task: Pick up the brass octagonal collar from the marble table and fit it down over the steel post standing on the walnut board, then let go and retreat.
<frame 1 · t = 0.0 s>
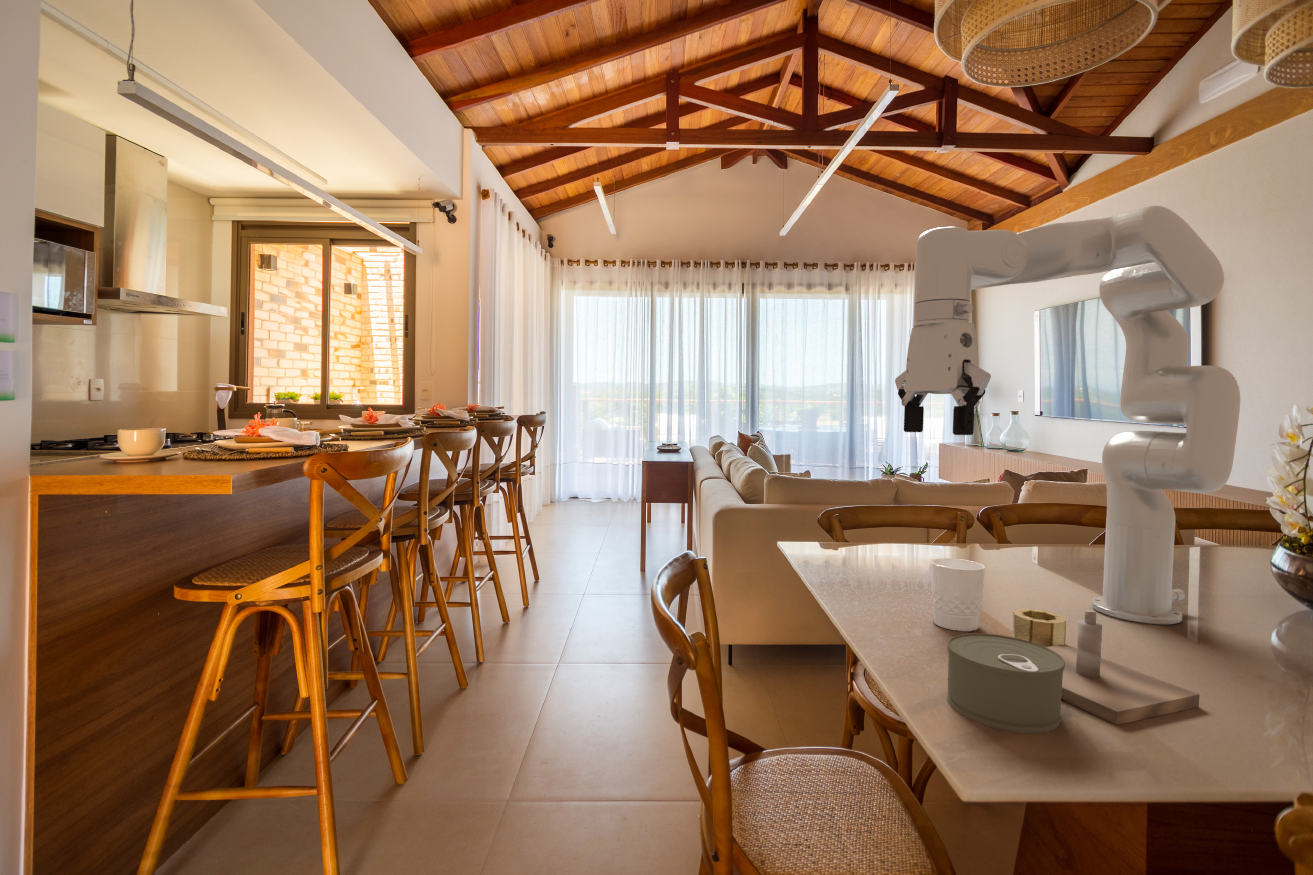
hand: (937, 433, 95), 31 cm above the table, tool pointing down, fingers open, 9 cm apart
ring: (1038, 641, 97), on the table
post block: (1087, 685, 82), on the table
can: (1001, 710, 75), on the table
white cup: (955, 625, 105), on the table
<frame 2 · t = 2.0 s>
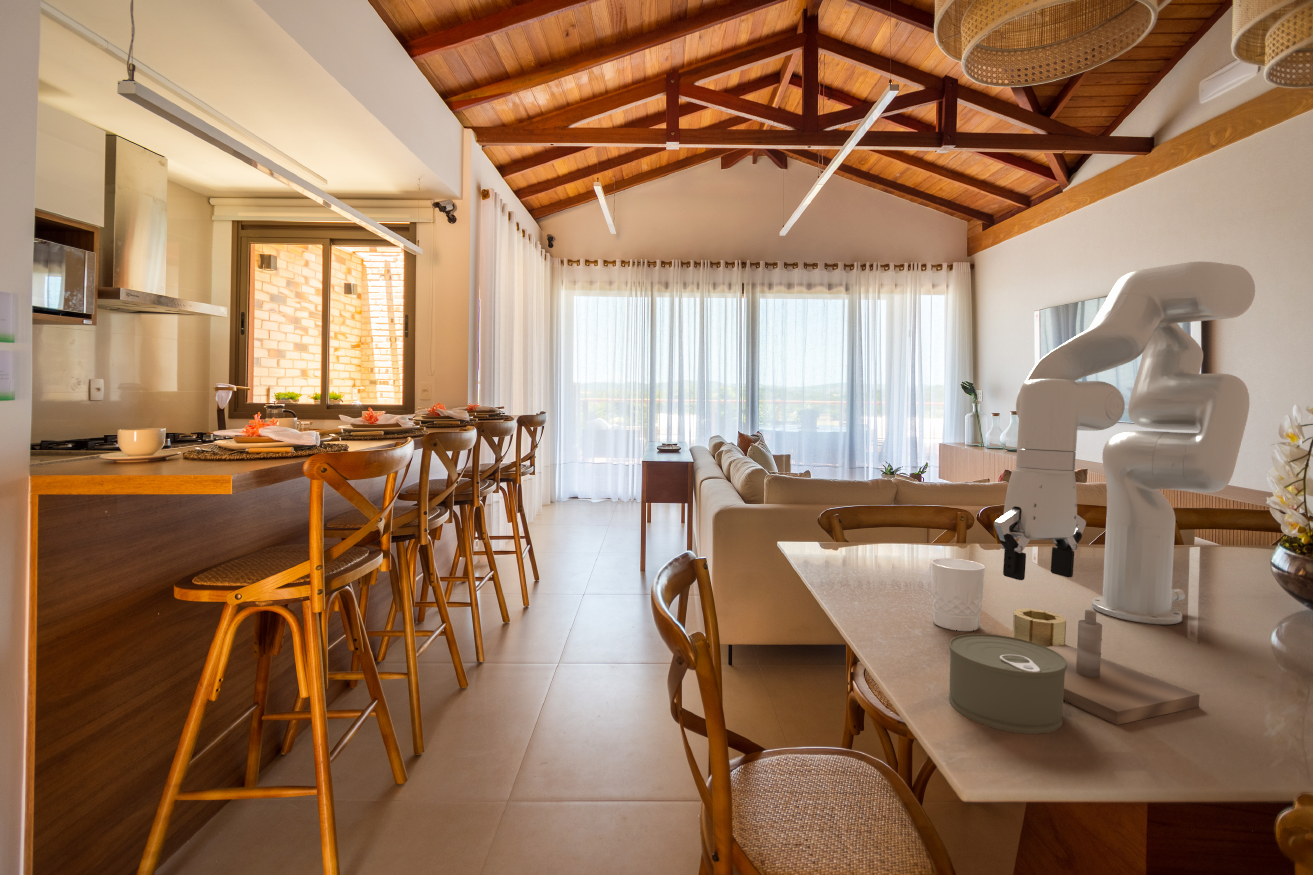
hand: (1037, 576, 97), 10 cm above the table, tool pointing down, fingers open, 9 cm apart
nothing on the table moved.
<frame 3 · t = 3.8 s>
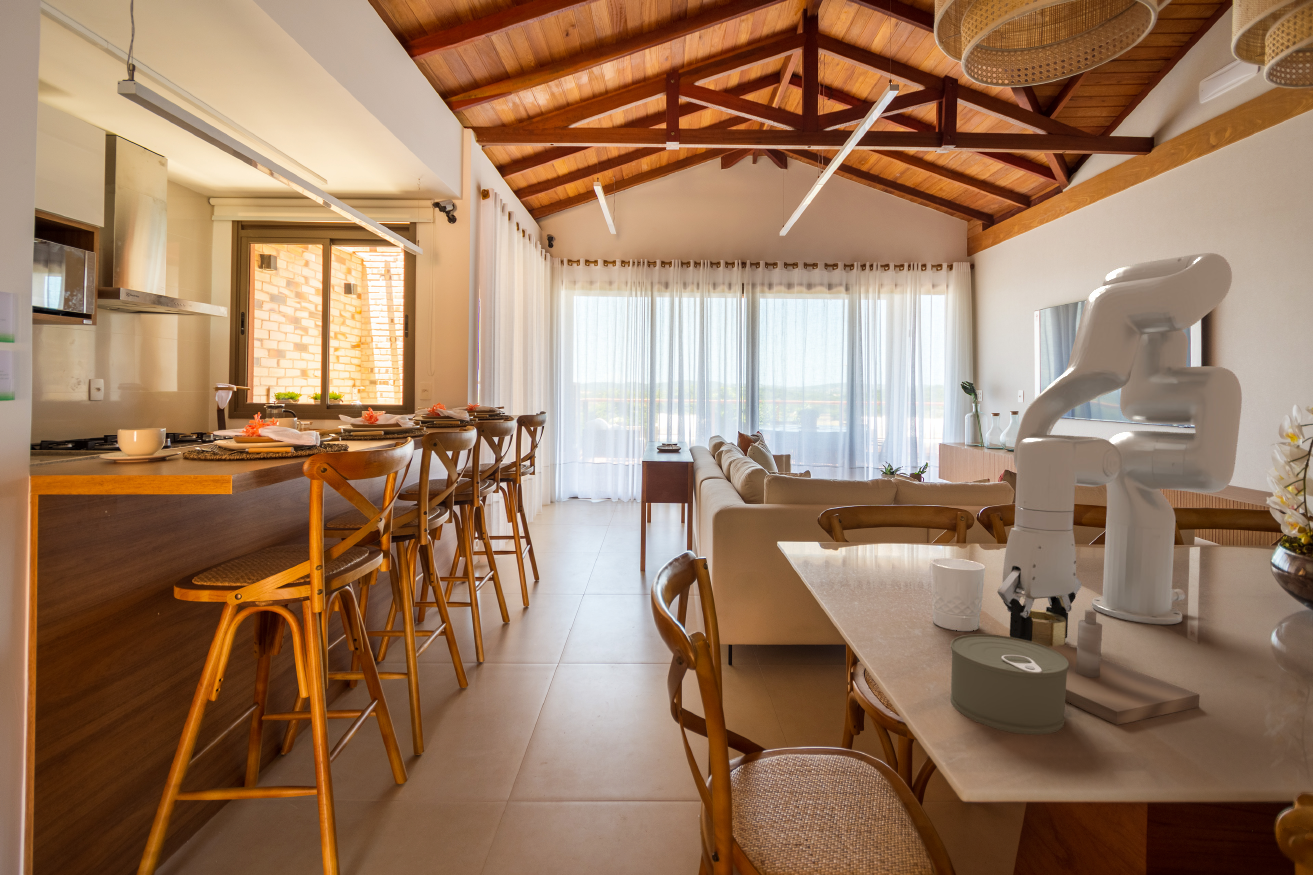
hand: (1038, 637, 97), 1 cm above the table, tool pointing down, fingers closed on ring, 6 cm apart
ring: (1038, 641, 97), on the table, touching gripper
everything else where it was.
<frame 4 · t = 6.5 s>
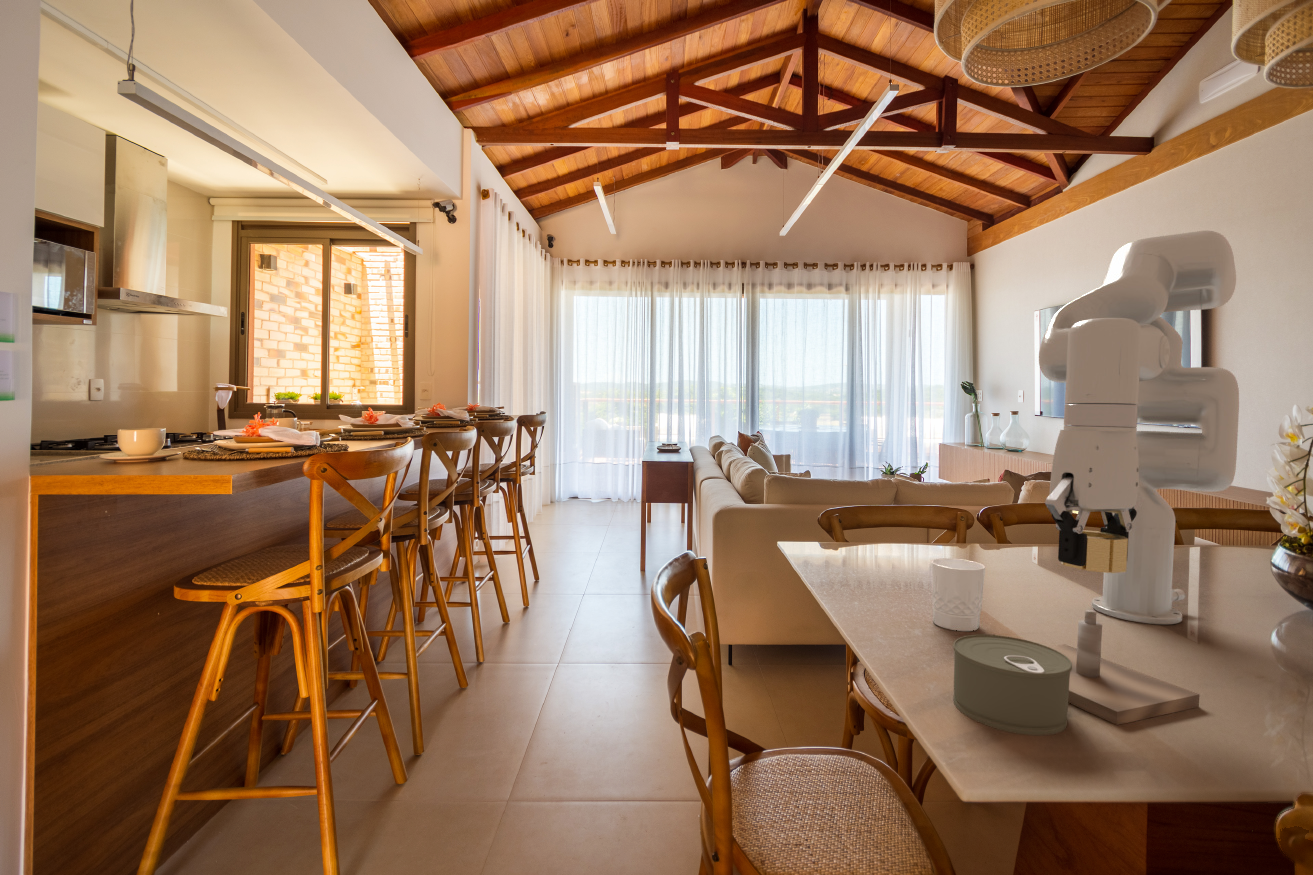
hand: (1092, 560, 81), 16 cm above the table, tool pointing down, fingers closed on ring, 6 cm apart
ring: (1092, 566, 81), point 15 cm above the table, touching gripper
everything else where it was.
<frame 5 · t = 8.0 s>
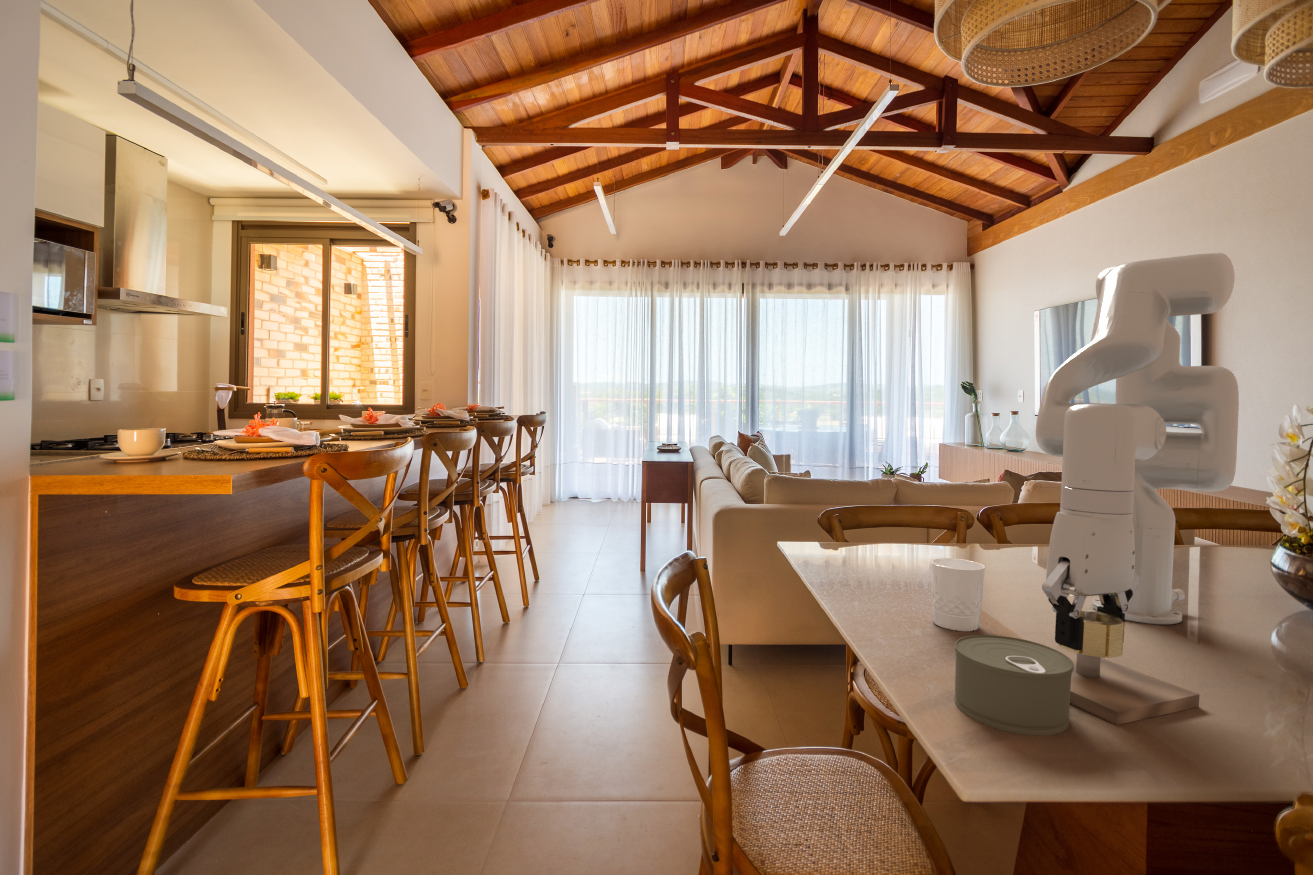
hand: (1089, 642, 82), 6 cm above the table, tool pointing down, fingers closed on ring, 6 cm apart
ring: (1088, 647, 82), point 5 cm above the table, touching gripper
everything else where it was.
when the fingers open (4 cm above the table, at t = 9.2 s): ring drops 2 cm, resting on post block.
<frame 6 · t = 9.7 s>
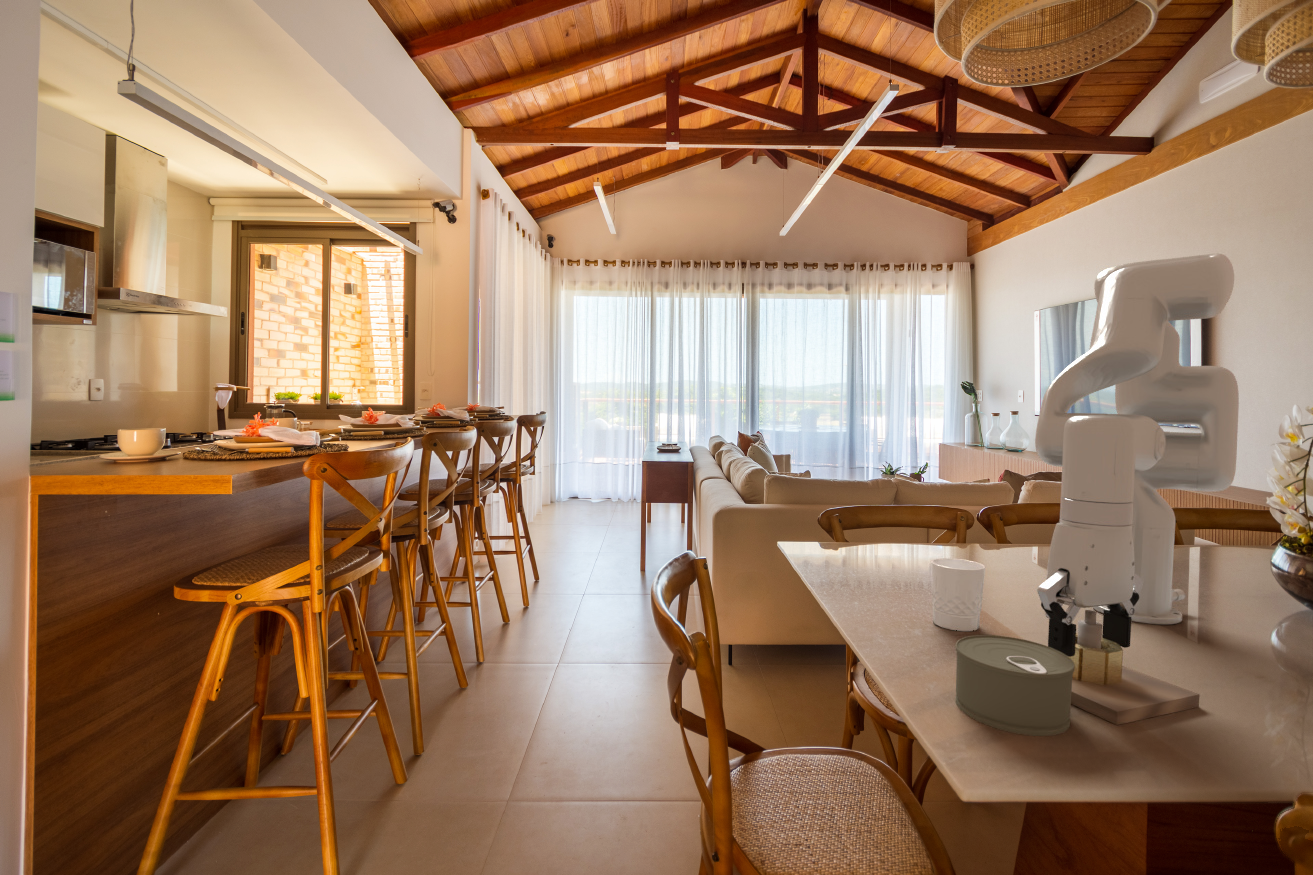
hand: (1089, 647, 82), 5 cm above the table, tool pointing down, fingers open, 9 cm apart
ring: (1087, 673, 82), point 1 cm above the table, touching post block
everything else where it was.
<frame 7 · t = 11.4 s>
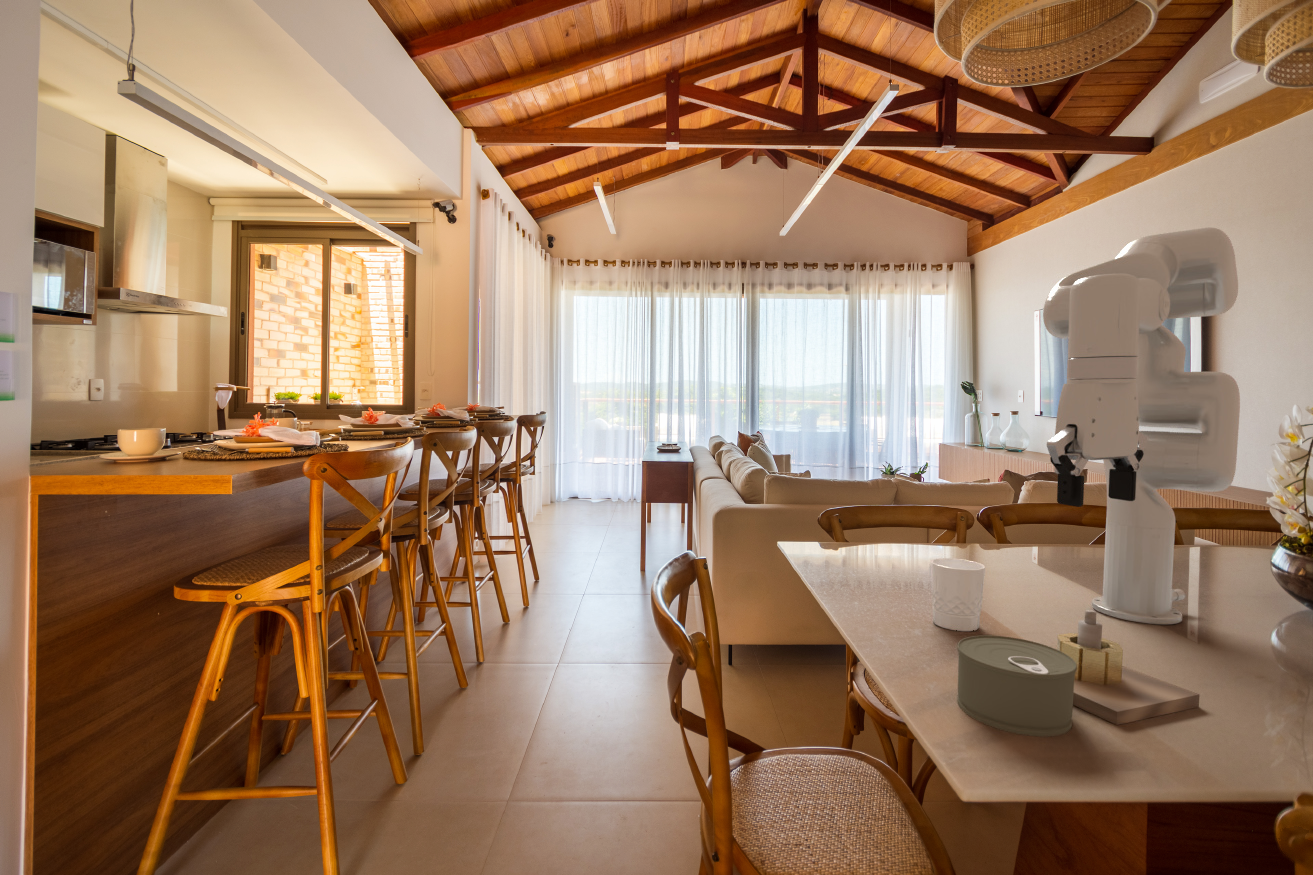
hand: (1096, 502, 85), 23 cm above the table, tool pointing down, fingers open, 9 cm apart
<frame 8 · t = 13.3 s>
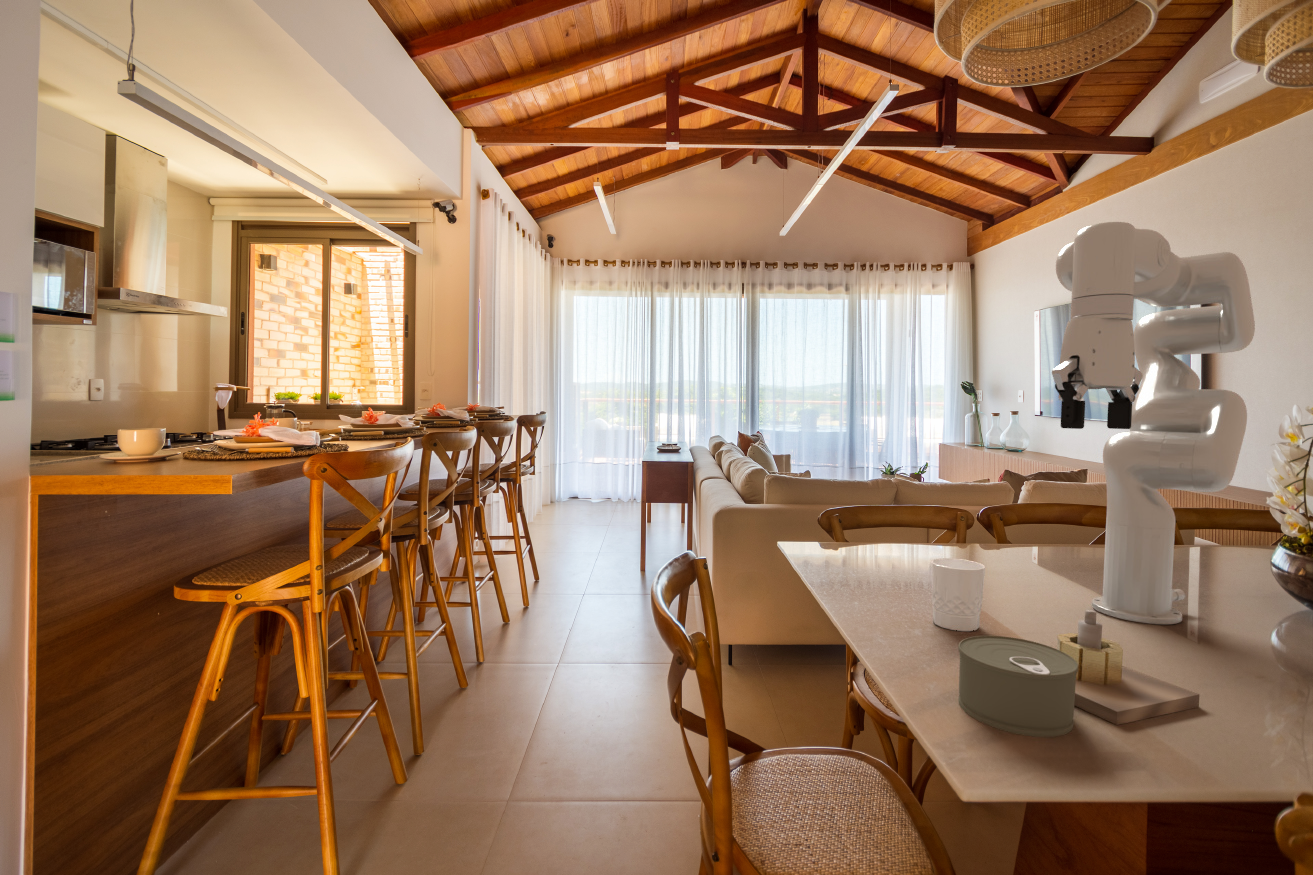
hand: (1095, 428, 95), 32 cm above the table, tool pointing down, fingers open, 9 cm apart
at the end: ring 0.1 cm off-centre on the post block, point 1.5 cm above the post block's base; ring tilted 0°; the gripper is holding nothing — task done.
